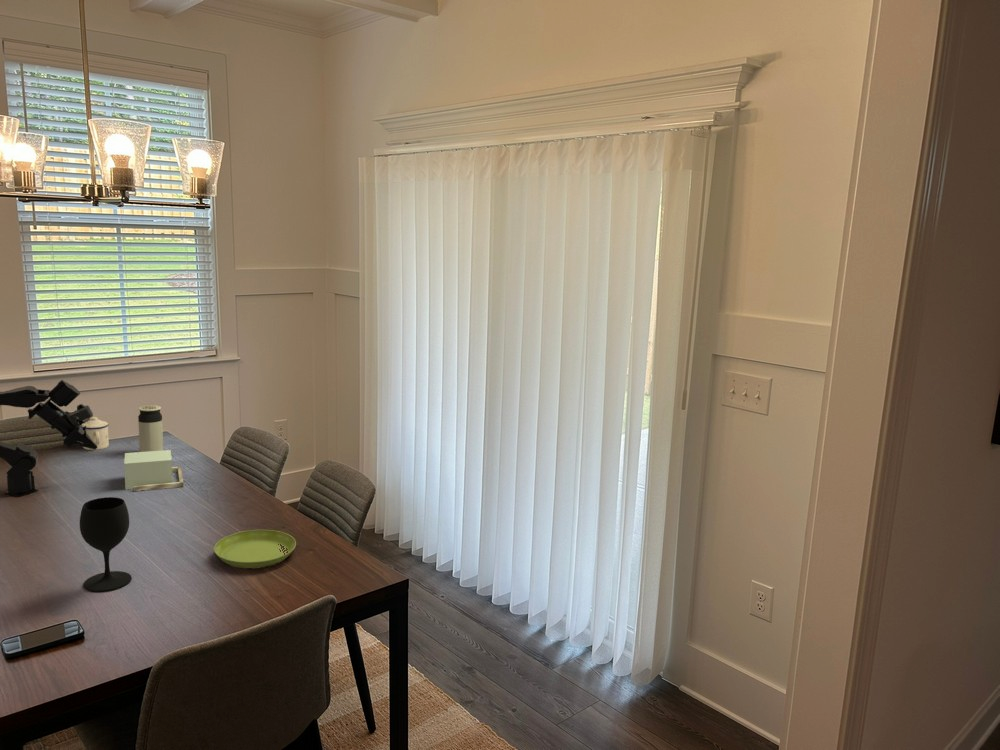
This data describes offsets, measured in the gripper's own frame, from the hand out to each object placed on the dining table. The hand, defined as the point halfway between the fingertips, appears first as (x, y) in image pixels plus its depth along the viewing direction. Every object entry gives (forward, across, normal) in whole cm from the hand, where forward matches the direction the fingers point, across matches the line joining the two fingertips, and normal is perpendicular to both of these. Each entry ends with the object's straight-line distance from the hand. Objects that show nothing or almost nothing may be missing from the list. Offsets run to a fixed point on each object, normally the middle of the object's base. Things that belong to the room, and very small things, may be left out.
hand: (96, 448), depth 238 cm
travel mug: (+21, +31, -4) cm, 38 cm away
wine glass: (+12, -74, +8) cm, 76 cm away
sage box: (+20, -1, -2) cm, 20 cm away
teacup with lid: (+8, +46, +9) cm, 47 cm away
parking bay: (+21, -1, -4) cm, 22 cm away
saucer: (+37, -71, -16) cm, 82 cm away
